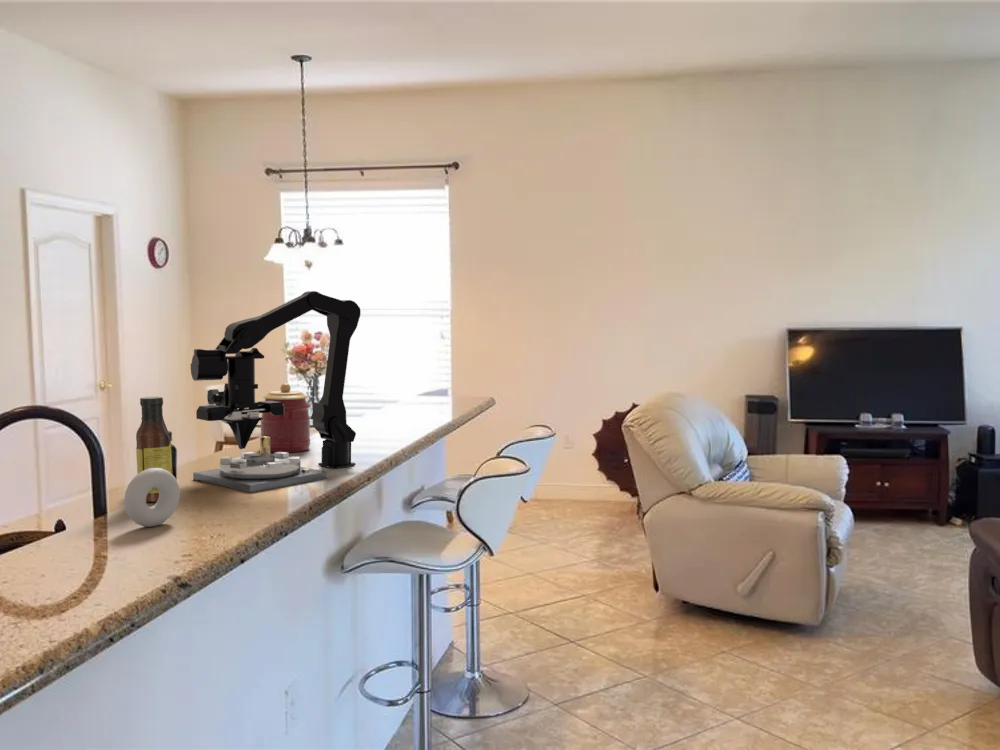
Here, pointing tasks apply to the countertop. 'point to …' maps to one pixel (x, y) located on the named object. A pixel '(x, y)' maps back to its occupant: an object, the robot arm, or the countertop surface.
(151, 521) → the donut
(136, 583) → the countertop surface
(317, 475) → the flat gray square plate
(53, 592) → the countertop surface
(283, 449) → the canister
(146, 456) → the sauce bottle
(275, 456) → the lugged silver disc
